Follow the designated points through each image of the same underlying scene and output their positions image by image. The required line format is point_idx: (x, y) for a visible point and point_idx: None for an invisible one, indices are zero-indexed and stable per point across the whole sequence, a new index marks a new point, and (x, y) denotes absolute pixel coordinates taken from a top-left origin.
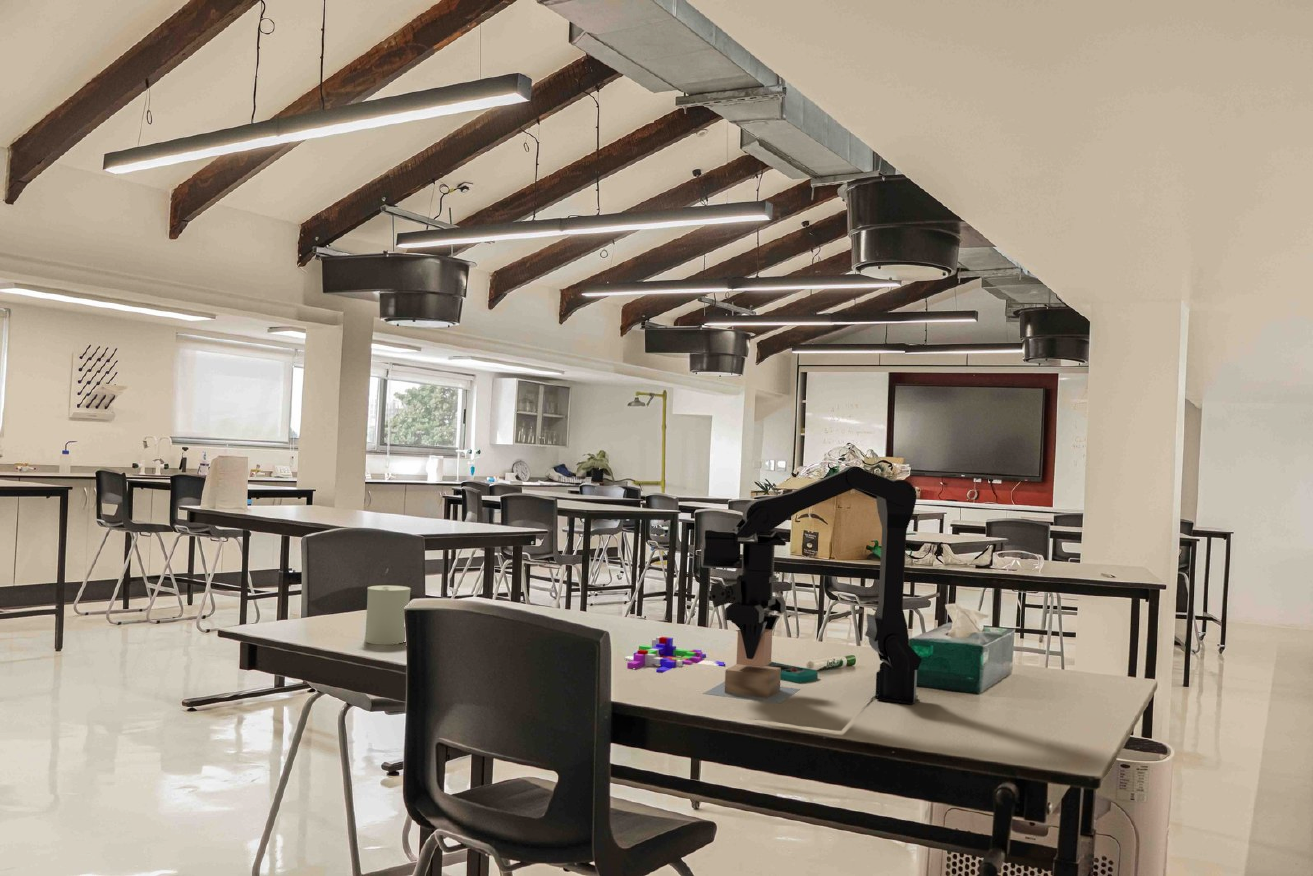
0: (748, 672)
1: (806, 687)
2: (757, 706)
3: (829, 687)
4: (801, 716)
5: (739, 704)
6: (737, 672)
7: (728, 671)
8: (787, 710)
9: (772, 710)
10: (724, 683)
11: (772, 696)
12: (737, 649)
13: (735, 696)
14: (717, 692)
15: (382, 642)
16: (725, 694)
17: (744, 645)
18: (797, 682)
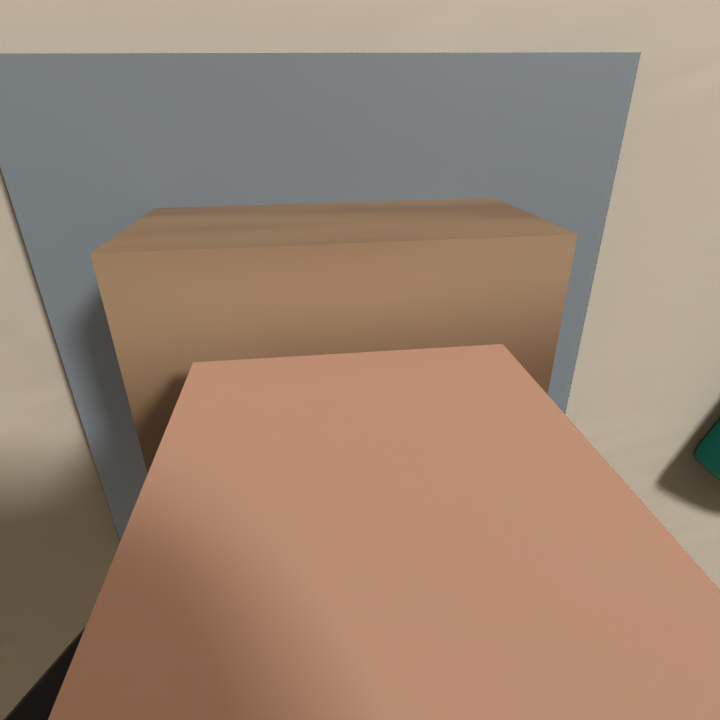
0: (149, 468)
1: (673, 494)
2: (52, 465)
3: (707, 559)
4: (32, 653)
5: (7, 373)
6: (127, 372)
7: (104, 283)
8: (95, 586)
9: (31, 544)
10: (492, 79)
11: None
12: (148, 477)
13: (91, 321)
14: (109, 157)
15: None
16: (91, 240)
17: (51, 668)
18: (708, 466)
